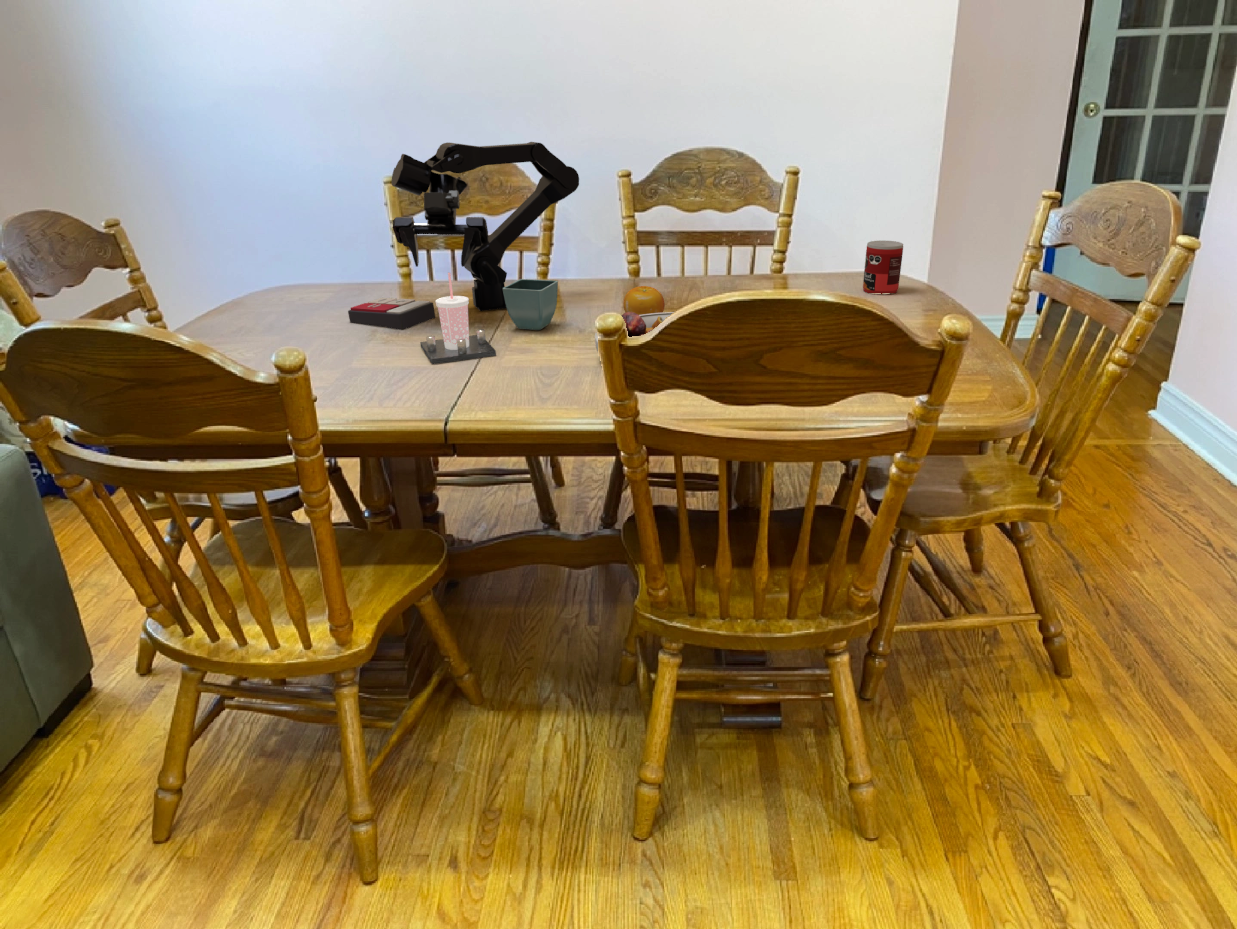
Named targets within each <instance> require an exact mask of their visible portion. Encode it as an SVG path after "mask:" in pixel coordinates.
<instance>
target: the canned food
mask: <svg viewBox="0 0 1237 929" xmlns="http://www.w3.org/2000/svg"><path fill="white" fill-rule="evenodd" d="M903 253H904V243H902V242H900V241H894V240H873V241H872V240H871V241H868V242H867V245H866V251H865V259H864V260H865V262H864V268H863V269H864V271H863V280H862V290H863V292H864V291H865V292H864V293H866V292H867V293H866V294H869V293H881V294H882V293H895V294H896V293H898V291H899V286H900V277H901V270H902V261H903Z"/></svg>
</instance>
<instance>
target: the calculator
mask: <svg viewBox="0 0 1237 929" xmlns="http://www.w3.org/2000/svg"><path fill="white" fill-rule="evenodd" d="M347 312H348V319H349V323H351V324H358V325H363V326H371V327H372V326H373V327H385V328H387V329H394V330H400V331H404V330H407V329H409V328H412V327H415V326H417V325H421V324H422V323H425V322H428V321H431V320H433V319H435V318H436V313H435V312H436V311H435V306H434V302H432V301H429V300H416V299H411V298H397V297H395V298H393V297H380V298H376V299H374V300H370V301H368V302H363V303H361V304H358V305H355V306H352V307H350V309H349V310H347Z"/></svg>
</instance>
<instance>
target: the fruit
mask: <svg viewBox="0 0 1237 929" xmlns="http://www.w3.org/2000/svg"><path fill="white" fill-rule="evenodd" d="M622 302H623V309H624V310H623V311H624V313H626V312H633V313H636V314H638V315H643V314H651V313H664V310H665V306H666V304H665V299H664V296H663V294H662V293H661V292H660V291H659V290H658V289H657V288H655V287H652V286H647V285H643V286H642V285H640V286H635V287H633V288H632V289H630V290H628V292H626V294H625V295H624V298H623V301H622Z"/></svg>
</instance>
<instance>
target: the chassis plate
mask: <svg viewBox="0 0 1237 929" xmlns="http://www.w3.org/2000/svg"><path fill="white" fill-rule="evenodd" d="M425 338H426V341H420V342H419V343H420V344H419V345H420V348H421V349H422V351H423V353H424V355H425V356H426V357H427V359H428V361H429V362H430V363H431V365H438V364H445V363H452V362H460V361H468V360H474V359H475V360H476V359H483V358H489V357H490V358H491V357H496V356H497V352H496V349H495V348H494V347H493V346H492V345H491V344H490V343H489V342H488V340H487V339H486V338H487V337H486V329H485V328H483V329H482V328H480V329H477V330H476V334H472V335H469V347H467V348H466V340H465V339H458V340H457V347H458V350H450V349H446V348H445V345H444V339H443V338H441V339H436V336H435V335H426V336H425Z"/></svg>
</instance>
